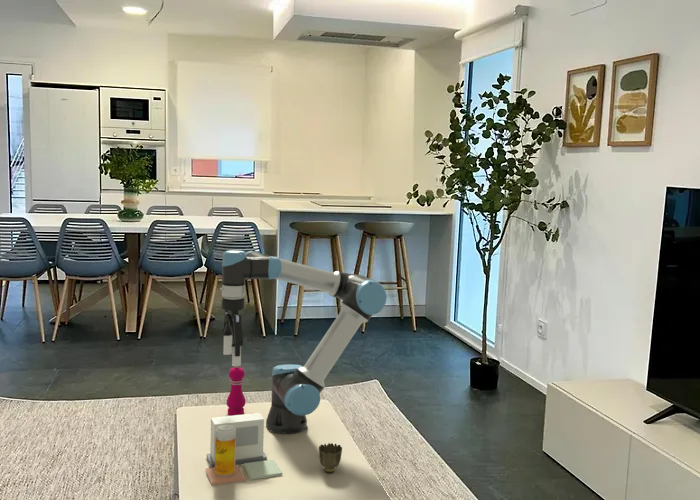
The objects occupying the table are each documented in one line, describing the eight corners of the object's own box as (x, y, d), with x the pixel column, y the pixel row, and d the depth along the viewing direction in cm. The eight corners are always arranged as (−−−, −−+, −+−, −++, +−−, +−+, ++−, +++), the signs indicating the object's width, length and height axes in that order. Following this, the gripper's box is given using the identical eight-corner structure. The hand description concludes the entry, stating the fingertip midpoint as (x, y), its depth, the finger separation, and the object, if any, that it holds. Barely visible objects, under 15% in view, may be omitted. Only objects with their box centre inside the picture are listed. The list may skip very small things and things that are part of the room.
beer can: (212, 470, 204) (213, 424, 202) (232, 467, 207) (233, 421, 205) (217, 479, 199) (218, 431, 197) (237, 476, 201) (238, 429, 199)
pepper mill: (241, 417, 251) (242, 366, 249) (223, 415, 252) (224, 365, 250) (247, 411, 258) (249, 361, 256) (230, 409, 259) (231, 359, 257)
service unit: (260, 451, 221) (261, 411, 220) (266, 461, 214) (267, 419, 212) (206, 458, 214) (207, 417, 213) (211, 468, 207) (212, 426, 206)
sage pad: (273, 461, 214) (273, 459, 214) (282, 475, 205) (282, 472, 205) (243, 465, 210) (243, 463, 210) (250, 479, 201) (250, 477, 201)
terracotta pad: (237, 466, 209) (237, 464, 209) (244, 480, 200) (244, 478, 200) (205, 470, 205) (205, 468, 205) (211, 485, 196) (211, 482, 196)
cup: (318, 465, 212) (319, 441, 212) (341, 466, 212) (342, 443, 211) (317, 476, 205) (318, 451, 204) (340, 477, 205) (341, 452, 204)
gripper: (214, 290, 228) (213, 350, 230) (230, 305, 205) (228, 371, 207) (235, 290, 230) (234, 349, 233) (253, 304, 208) (252, 369, 210)
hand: (231, 359), depth 220 cm, fingers open, 13 cm apart
